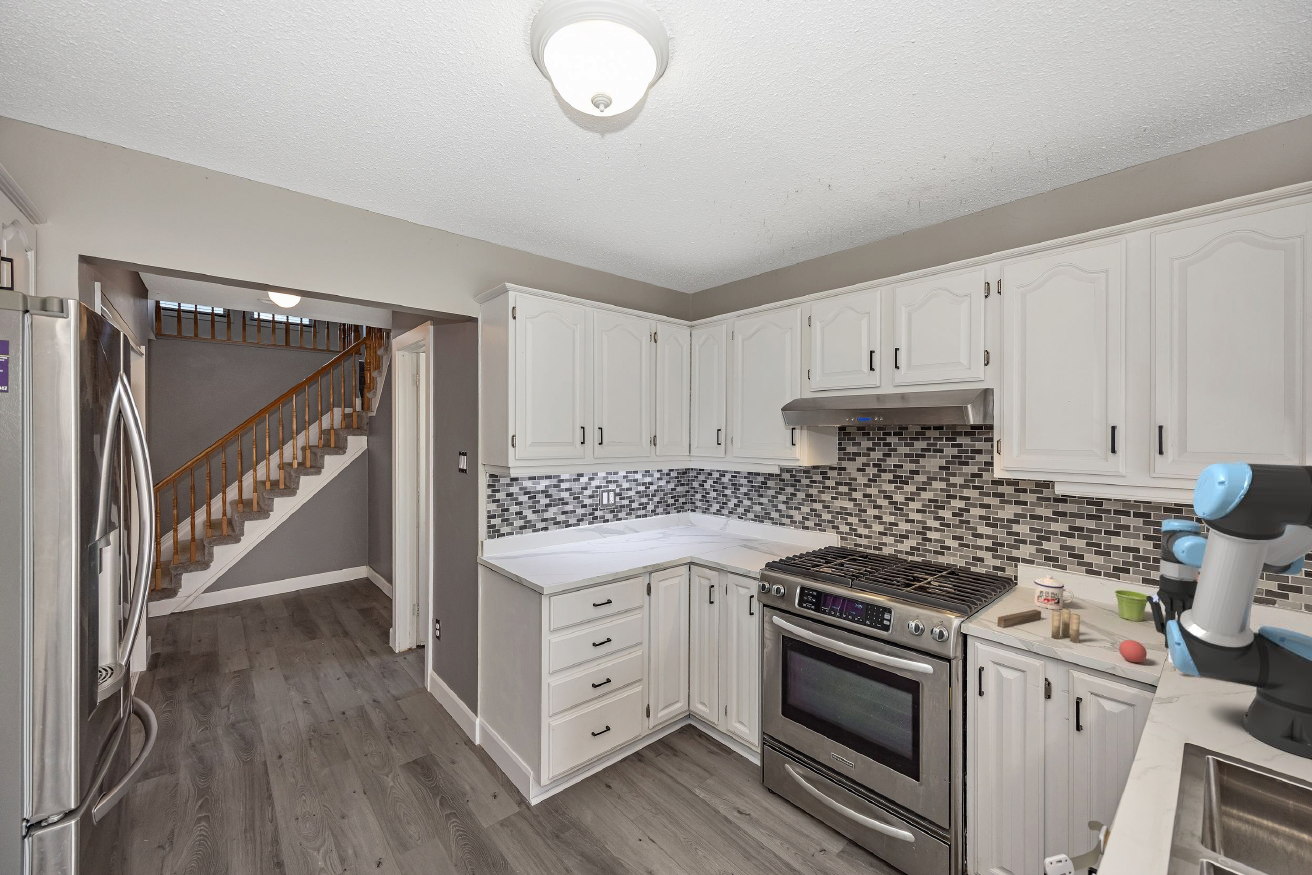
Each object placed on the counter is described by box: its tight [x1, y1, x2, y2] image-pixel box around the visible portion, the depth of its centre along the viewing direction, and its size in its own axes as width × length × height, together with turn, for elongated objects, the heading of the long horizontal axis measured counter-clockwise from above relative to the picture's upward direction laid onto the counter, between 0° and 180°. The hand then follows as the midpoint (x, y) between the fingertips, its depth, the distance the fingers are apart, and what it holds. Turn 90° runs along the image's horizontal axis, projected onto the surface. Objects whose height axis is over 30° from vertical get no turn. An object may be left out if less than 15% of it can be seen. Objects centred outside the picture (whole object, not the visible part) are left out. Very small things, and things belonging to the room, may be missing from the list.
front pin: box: [1069, 613, 1081, 644], centre depth 169 cm, size 2×2×8 cm
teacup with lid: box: [1033, 574, 1074, 611], centre depth 201 cm, size 12×9×12 cm
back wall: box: [996, 609, 1042, 629], centre depth 185 cm, size 2×20×3 cm, turn 114°
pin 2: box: [1060, 608, 1072, 638], centre depth 174 cm, size 2×2×8 cm
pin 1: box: [1051, 610, 1062, 640], centre depth 172 cm, size 2×2×8 cm
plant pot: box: [1114, 589, 1149, 622], centre depth 190 cm, size 9×9×9 cm
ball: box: [1118, 639, 1148, 663], centre depth 156 cm, size 6×6×6 cm
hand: (1174, 661), depth 147 cm, fingers closed
